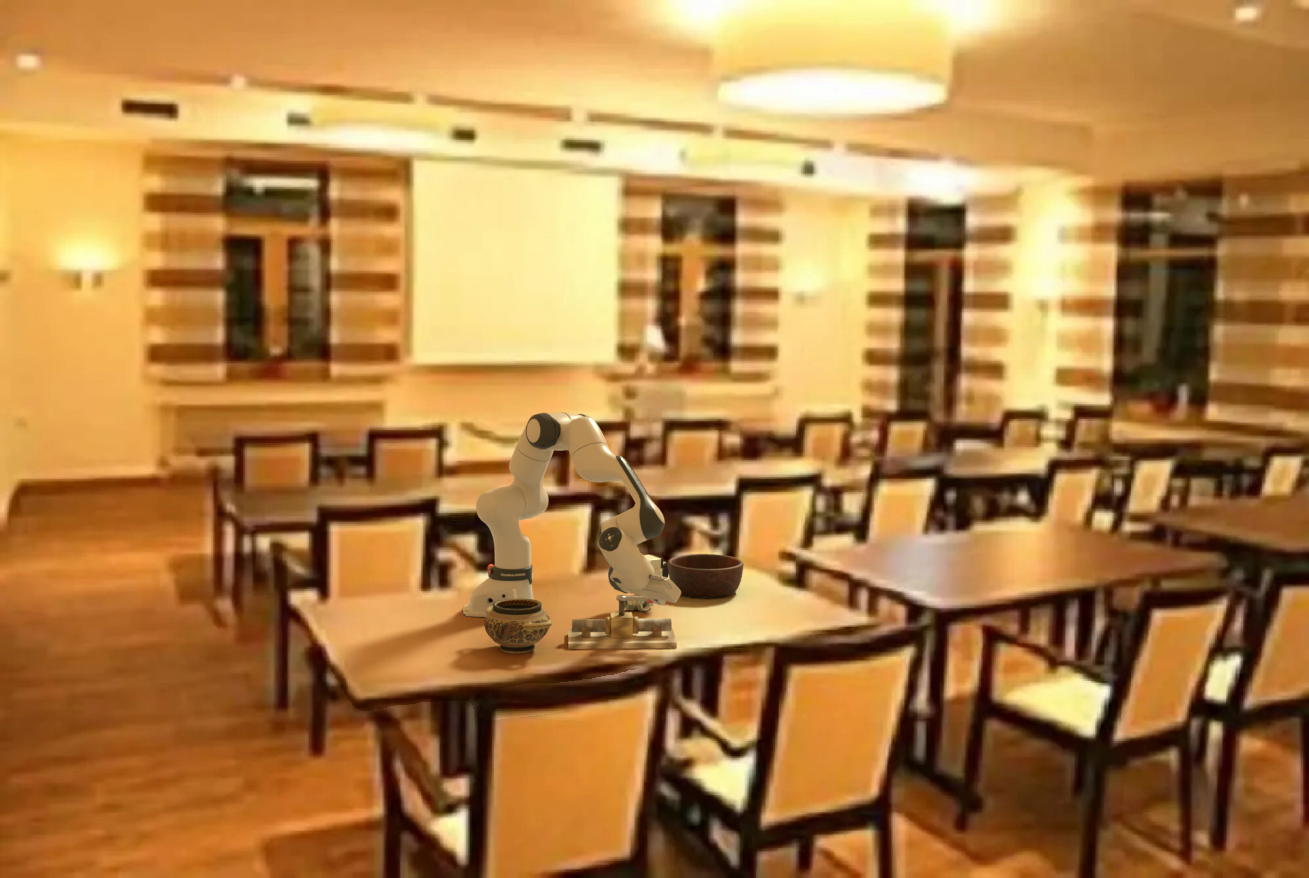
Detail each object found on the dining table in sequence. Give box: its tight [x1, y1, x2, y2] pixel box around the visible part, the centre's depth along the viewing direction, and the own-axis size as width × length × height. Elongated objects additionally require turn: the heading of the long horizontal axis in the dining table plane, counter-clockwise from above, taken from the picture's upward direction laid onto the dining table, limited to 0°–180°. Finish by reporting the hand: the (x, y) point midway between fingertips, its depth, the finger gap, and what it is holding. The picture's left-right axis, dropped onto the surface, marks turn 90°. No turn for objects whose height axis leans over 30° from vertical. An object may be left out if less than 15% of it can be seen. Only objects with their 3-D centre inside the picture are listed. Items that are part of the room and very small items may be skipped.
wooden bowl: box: [667, 553, 744, 599], centre depth 416 cm, size 25×25×10 cm
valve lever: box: [615, 594, 671, 604], centre depth 355 cm, size 15×3×2 cm, turn 88°
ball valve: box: [607, 553, 669, 612], centre depth 391 cm, size 18×8×18 cm, turn 121°
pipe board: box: [567, 601, 678, 650], centre depth 356 cm, size 30×15×12 cm, turn 94°
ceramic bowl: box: [483, 599, 553, 654], centre depth 347 cm, size 24×18×15 cm
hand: (660, 602), depth 352 cm, fingers closed
